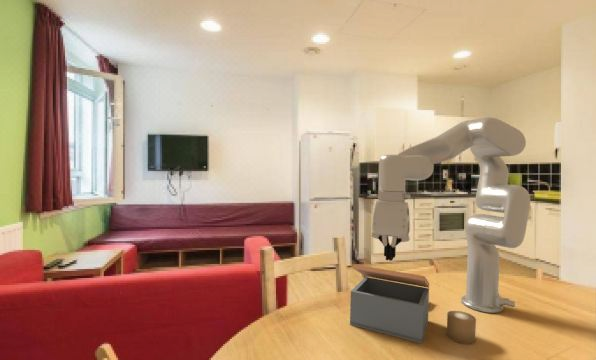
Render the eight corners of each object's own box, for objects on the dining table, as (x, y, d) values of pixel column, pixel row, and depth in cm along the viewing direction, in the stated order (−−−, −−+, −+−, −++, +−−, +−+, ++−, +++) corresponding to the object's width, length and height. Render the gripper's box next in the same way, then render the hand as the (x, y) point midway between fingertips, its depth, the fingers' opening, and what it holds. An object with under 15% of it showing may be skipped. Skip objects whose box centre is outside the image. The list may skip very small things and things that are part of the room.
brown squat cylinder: (474, 335, 87) (475, 314, 87) (475, 347, 81) (476, 324, 81) (447, 328, 90) (448, 308, 90) (446, 340, 84) (446, 318, 84)
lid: (429, 287, 95) (429, 283, 96) (424, 280, 83) (424, 276, 83) (365, 276, 105) (365, 272, 105) (352, 268, 93) (353, 264, 93)
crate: (428, 320, 95) (429, 288, 95) (421, 343, 82) (423, 306, 82) (364, 306, 105) (365, 276, 105) (349, 324, 92) (350, 291, 91)
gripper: (420, 197, 90) (418, 260, 91) (369, 195, 97) (368, 253, 98) (416, 199, 84) (414, 266, 84) (362, 196, 91) (360, 258, 91)
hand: (389, 259), depth 91 cm, fingers closed
